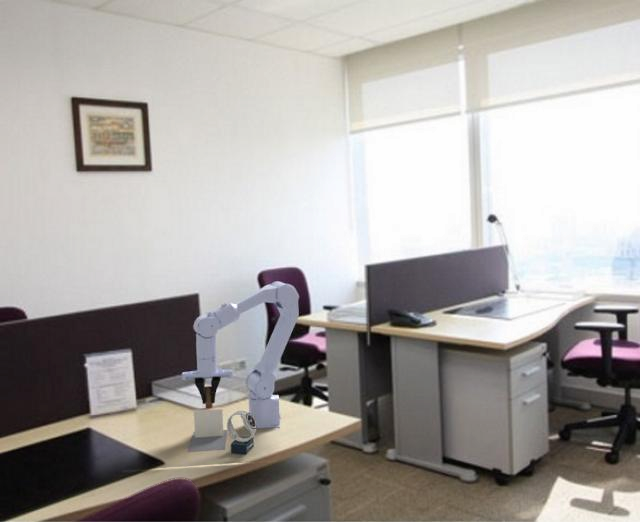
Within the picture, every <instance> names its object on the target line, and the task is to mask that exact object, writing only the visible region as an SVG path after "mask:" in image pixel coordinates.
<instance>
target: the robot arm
mask: <svg viewBox="0 0 640 522" xmlns="http://www.w3.org/2000/svg"><path fill="white" fill-rule="evenodd" d="M299 299H300V295H299V293H298V290H297V289H296V288H295V286H294V285H292V284H289V283H284V282H282V281H280V280H279V281H273V282H272V283H269V284H266V285H264V286H263V287H261V288H259V289H258V290H257V291H255V292H253V293H251V294H250V295H248V296H246V297H244V298H243V299H241V300H240V301H238V302H237V303H232V302H228V303H226V302H223V303H221V306H220V307H218V308H216V309H214V310H212V311H210V310H209V311H208V312H206V314H207V315H205V314H202V315H199V316H198V317H196V319H195V320H194V323H193V325H192V329H193V330H194V332H196V334H195V337H196V338H195V339H196V341H195V343H196V344H195V345H196V346H195V347H196V368H197V369H196V370H191V371H183V372H182V373H181V381H187V380H194V385H195V387H196V388H197V390H198V392H199V394H200V397H201V400H202V401H201V402H202V405H206V404H205V387H206V380H207V379H211V380H210V383H211V384H210V386H211V387H212V404H215V403H216V394H217V390H218V388H219V385H220V382H221V379H222V378H229V379H233V378H234V370H233V369H220V368H219V369H218V354H217V339H216V335H217V333H218V332H219V331H220V330H221V329H224V328H225V327H228V326H229V325H231V324H233V323H235V322H236V321H238V320H239V318H240V316H241V314H243V313H244V312H248V311H249V310H251V309H253V308H256V307H258V306H259V305H262V304H263V303H269V304H271V303H272V304H274V305H275V306H276V308H277V310H278V313H279V317H278V320H277V322H276V324H275V326H274V329H273V331H272V334H271V335H270V338H269V341H268V343H267V345H266V347H265V350H264V352H263V354H262V356H261V359H260V361H259V362H258V363H257V364H256V365H254V368H253V369H252V371H251V372H250V373H248V375H247V376H246V379H245V386H246V388H247V389H248V390H249V393H248V413H251V414H252V415H253V416H254V418H255V420H256V422H257V428H256V429H263V428H265V429H266V428H278V429H279V428H280V427H281V423H280V422H281V421H280V420H281V412H280V400H279V399H280V398H279V397H280V396H279V394H274V391H275V382H276V379H277V370H276V369H277V367H278V364H279V363H280V360H281V358H282V355H283V354H284V351H285V349H286V346H287V344H288V342H289V340H290V337H291V334H292V332H293V330H294V328H295V326H296V323H297V321H298V318H299V315H300V313H299V312H300V311H299Z"/></svg>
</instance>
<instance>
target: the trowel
mask: <svg viewBox="0 0 640 522" xmlns="http://www.w3.org/2000/svg"><path fill="white" fill-rule="evenodd" d="M204 405H205V408H214V407H213V405H214V404H213V403H212V386H211V385H205V404H204Z"/></svg>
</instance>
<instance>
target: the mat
mask: <svg viewBox="0 0 640 522" xmlns="http://www.w3.org/2000/svg"><path fill="white" fill-rule="evenodd" d="M223 432H224V434H223V436H214V437H198V438H195V431H193V433H192V436H191V440H190V441H189V445H188V448H187V453H193V452H195V453H196V452H209V451H210V452H211V451H223V450H226V443H227V438H228V437H227V436H228V432H229V431H228V429H223Z"/></svg>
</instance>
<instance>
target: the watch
mask: <svg viewBox="0 0 640 522" xmlns="http://www.w3.org/2000/svg"><path fill="white" fill-rule="evenodd" d="M234 416H240V418H241V419H242V423H243V425H244V427H245V428H246V430H247V431H248V432H249V433H250V436H239V435H238V432H237V430H235V427H234V425H233V422H232V420H233V419H232V418H233V417H234ZM257 429H258V428H257V422H256V420H255V418H254V416H253V415H252V414H251V413H249V411H245V410H238V411H236V412H234V413H232V414H231V415H230V416H229V417H228V419H227V423H226V430H228V431H227V432H228V433H229V435H230V437H231V439H232V440H233V441H232V442H231V443H230V453H231V454H234V455H248V454H249V452H250V451H251V450H252V449H253V448H254V445H255V444H254V436H255V434H256V432H257Z"/></svg>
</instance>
